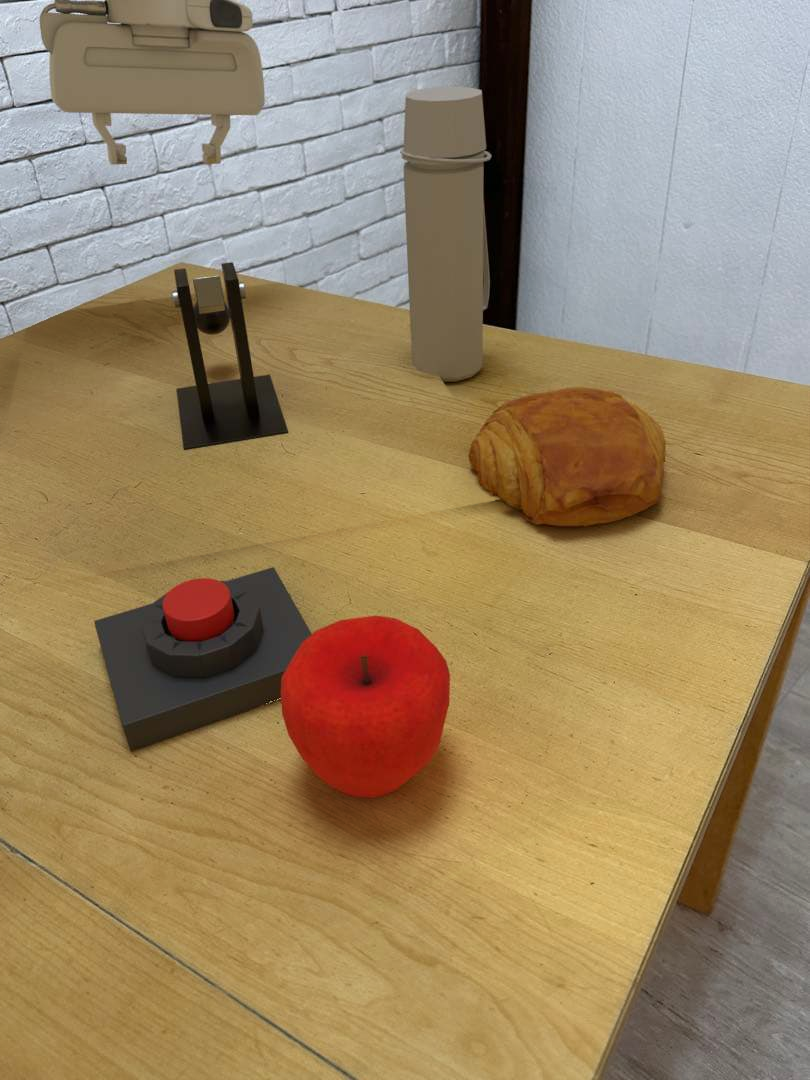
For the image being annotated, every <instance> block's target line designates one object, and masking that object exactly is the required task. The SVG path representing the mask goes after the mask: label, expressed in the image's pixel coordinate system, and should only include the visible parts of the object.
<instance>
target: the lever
mask: <svg viewBox="0 0 810 1080" xmlns="http://www.w3.org/2000/svg"><path fill="white" fill-rule="evenodd" d="M192 281H193V288H194V293H195V299H196V301H195V303H194V304H193V309H194V314H195V319H196V324H197V330H198V331H199V332H200V333H203V334H206V335H211V336H213V335H214V336H215V335H218V334H221V333H222V332H225V330H227V328H228V327H229V324H230V323H231V319H230V313H229V307H228V303H226V302H225V298H224V297H225V296H224V292H223V287H222V281H221V276H220V275H212V276H205V277H196V278H193V279H192Z"/></svg>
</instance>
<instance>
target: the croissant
mask: <svg viewBox="0 0 810 1080" xmlns="http://www.w3.org/2000/svg"><path fill="white" fill-rule="evenodd" d="M666 443H667V442H666V439H665V435H664V430H662V428H661V426H660V424H659V423H658V421H657V420H656V419H654V418H653V417H652V416H651V415H650V414H648V413H647V412H646V411H644V409H641V408H640V407H639V406H638V405H637V404H634V403H629V401H628V400H627V399H625V398H624V397H623V396H622V394H620V393H616V392H614V391H612V390H611V391H610V390H609V391H608V390H604V389H599V388H594V387H584V386H575V387H572V386H571V387H564V388H559V389H556V390H551V391H543V392H534V393H532V394H528V395H525V396H522V397H518V398H517V397H516V398H515V399H512V400H509V401H506V402H504V403H503V404H501V406H499V407H498V408H496V409H495V410H494V411H493V412H492V414H491V415H490V416H489V417H488V418H487V419H486V420H485V422H484V423H483V424H482V427H481V428H480V430H479V432H478V433H477V434H476V436H475V437H474V439H473V440H472V442H471V444H470V448H469V452H468V454H467V456H468V461H469V463H470V465H471V467H472V469H473V470H474V471H475V472H476V473H477V482H478V483H479V484H480V485H481V486H482V488H483V489H484V490H486V491H487V492H489V493H490V495H491V497H494V496H495V495H498V498H499V499H495V501H496V502H499V500H500V501H503V502H505V503H506V504H507V505H508V506H509V507H512V508H514V509H517V510H522V512H521V513H520V515H521V516H522V518H524V520H526V522H530V523H532V524H535V525H548V526H556V527H582V526H583V527H588V526H593V525H599V524H600V525H602V524H611V523H613V522H617V521H621V520H623V519H626V518H629V517H631V516H634V515H636V514H638V513H639V512H642V511H646V509H648V508H650V507H651V506H653V505H656V504H657V503H658V502H659V501H660V500H661V499H662V498H663V497H664V494H663V491H662V485H663V479H664V473H665V467H664V463H665V462H666Z"/></svg>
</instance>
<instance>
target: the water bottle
mask: <svg viewBox="0 0 810 1080" xmlns="http://www.w3.org/2000/svg"><path fill="white" fill-rule="evenodd" d="M483 101H484V100H483V91H482V89H479V88H475V87H470V86H457V85H456V86H455V85H453V86H434V87H433V86H432V87H427V88H419V89H415V90H413V91H409V92H407V93H406V94H405V102H404V103H405V107H404V125H403V127H404V128H403V147H402V149H400V151H399V153H400V154H401V160H404V161H406V162H404V164H403V189H404V190H403V191H404V211H405V213H404V214H405V234H406V255H407V279H408V280H407V281H408V301H409V323H410V324H409V325H410V326H409V327H410V349H411V365H412V366H413V367H415V368H416V369H417V370H418V371H419V372H422V373H426V374H430V375H434V376H438V377H439V378H440V380H441V381H442V382H444V383H455V382H459V381H462V380H467V379H470V378H472V377H474V376H475V375H476V374H477V373H478V372H480V371H481V369H482V368H483V364H484V363H483V360H484V359H483V357H484V356H483V355H484V354H483V350H484V349H483V347H484V346H483V345H484V342H483V340H484V338H483V337H484V334H483V333H484V332H483V331H484V311H485V310H486V309H488V306H489V300H490V290H491V289H490V288H491V278H490V276H491V275H490V263H489V252H488V251H489V249H488V240H487V239H488V237H487V226H486V212H485V200H484V199H485V198H484V167H485V166H484V162H488V161H490V160H491V158H492V154H491V153H490V151H486V150H487V141H486V125H485V114H484V103H483Z"/></svg>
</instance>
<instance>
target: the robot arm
mask: <svg viewBox="0 0 810 1080" xmlns="http://www.w3.org/2000/svg"><path fill="white" fill-rule="evenodd" d="M52 10H54V11H55V12H50V11H52ZM253 22H254V21H253V12H252V10H251V8H250V7H249V6H248V5H246V4H244V3H241V2H239V1H236V0H54V3H49V4H48V5H46V6H45V7H44V8H43V9H42V10H41V13H40V15H39V29H40V38H41V41H42V45H43V46H44V48H45V49H46V51H47V52H48V53H49V87H50V97H51V100H52V102H53V104H54V105H55V106H56V107H57V108H58V109H59V110H60V111H61V112H63V113H68V114H69V113H72V114H73V113H74V114H77V113H79V114H87V113H88V114H91V116H92V124H93V126H94V128H95V129H96V131H97V132H98V134H99V135H100V137H101V138H102V140H103V141H104V144H106V148H107V149H106V150H107V158H108V163H109V164H110V165H112V166H113V165H116V166H117V165H127V164H128V159H127V158H128V157H127V156H126V155H127V146H126V145H125V144H124V143H122V142H121V143H120V142H118V143H117V142H116V140H115V139H114V137H113V136H112V134H111V133H110V131H109V130H108V127H112V114H135V115H136V114H137V115H139V114H141V115H143V114H144V115H145V114H146V115H151V114H152V115H197V116H198V115H199V116H200V115H203V116H206V115H207V116H210V121H211V125H212V126H214V127H215V130H214V132H213V134H212V136H211V138H210V140H209V143H201V151H202V156H201V157H202V162H203V163H204V164H207V165H220V164H221V163H222V152H221V151H222V149H221V146H222V145H223V144H224V142H225V139H226V138H227V136H228V133H229V131H230V130H231V116H258V115H259V114H260V113H261V112H262V110H263V108H264V106H265V104H266V103H265V100H266V97H265V96H266V95H265V81H264V80H265V79H264V71H263V64H262V63H263V62H262V58H261V53H260V50H259V46H258V44H257V42H256V41H255V39H254V38H253V37H252V36H251V35H250V34H248V33H246V32H248V31H250V30H251V29H252V27H253Z"/></svg>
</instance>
